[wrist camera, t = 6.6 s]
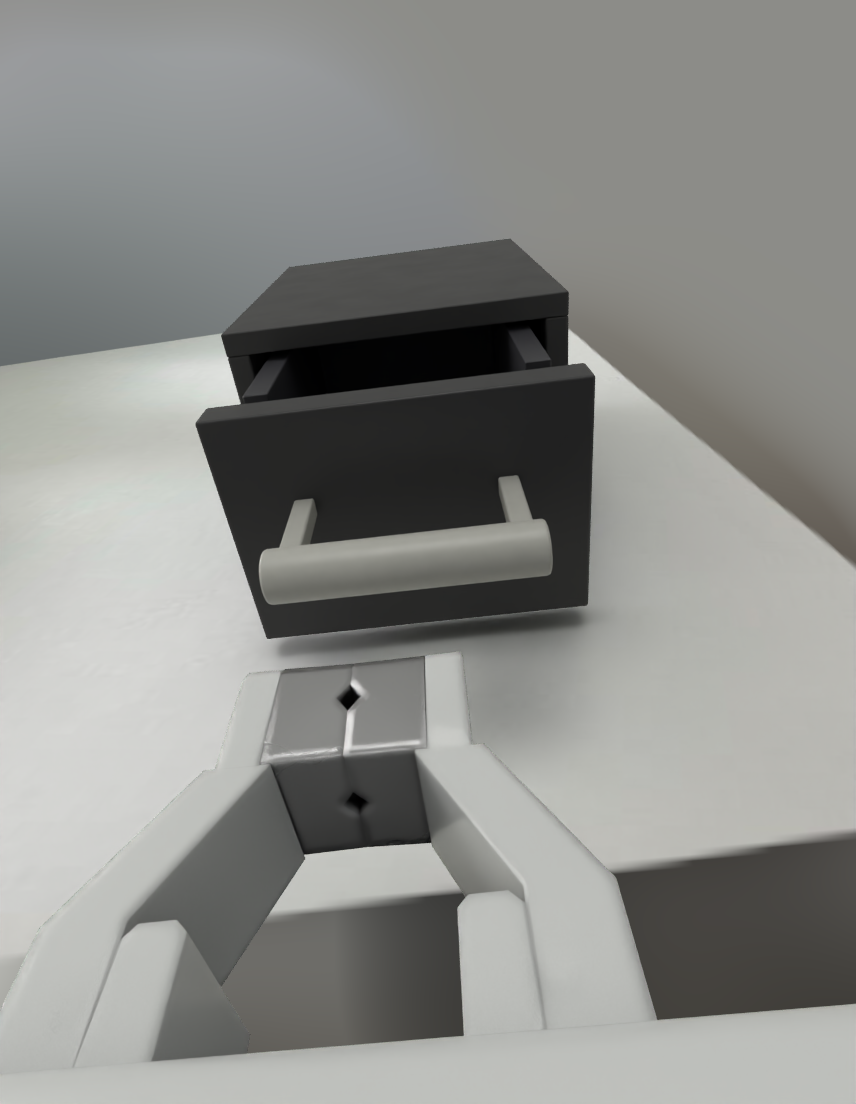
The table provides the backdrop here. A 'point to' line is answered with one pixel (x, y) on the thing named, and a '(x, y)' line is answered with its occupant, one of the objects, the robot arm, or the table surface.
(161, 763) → the table surface
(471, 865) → the robot arm
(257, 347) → the dark grey drawer cabinet
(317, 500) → the black drawer
